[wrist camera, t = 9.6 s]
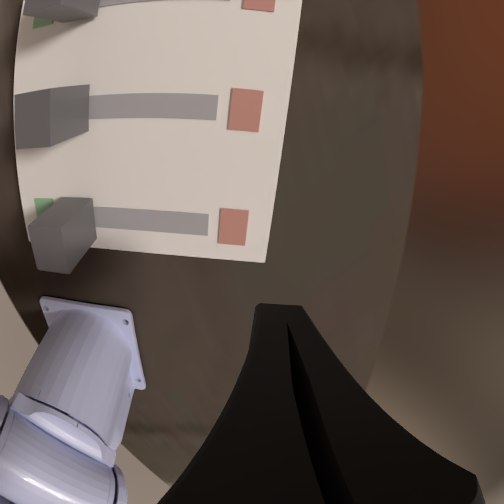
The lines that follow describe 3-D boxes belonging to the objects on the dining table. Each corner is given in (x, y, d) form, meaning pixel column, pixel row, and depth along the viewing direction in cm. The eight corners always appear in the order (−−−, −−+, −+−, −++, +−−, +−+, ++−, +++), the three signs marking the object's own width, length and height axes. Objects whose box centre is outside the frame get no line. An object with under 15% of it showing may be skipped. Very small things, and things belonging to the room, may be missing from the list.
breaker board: (263, 249, 19) (270, 308, 14) (40, 230, 18) (-4, 275, 13) (300, -25, 11) (325, -67, 6) (39, -8, 10) (-17, -22, 5)
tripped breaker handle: (88, 131, 13) (50, 146, 10) (56, 132, 13) (16, 149, 10) (89, 84, 12) (50, 88, 9) (57, 88, 12) (14, 95, 9)
